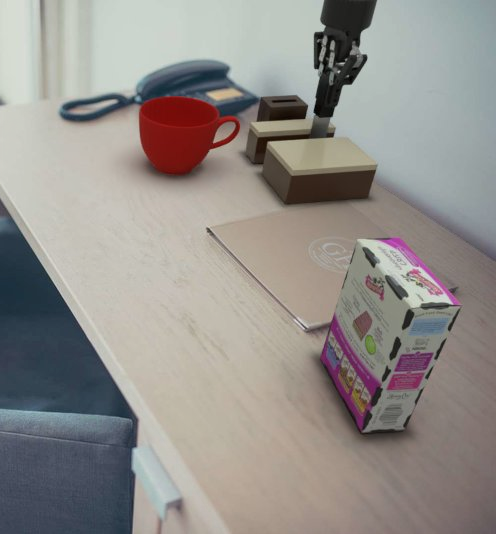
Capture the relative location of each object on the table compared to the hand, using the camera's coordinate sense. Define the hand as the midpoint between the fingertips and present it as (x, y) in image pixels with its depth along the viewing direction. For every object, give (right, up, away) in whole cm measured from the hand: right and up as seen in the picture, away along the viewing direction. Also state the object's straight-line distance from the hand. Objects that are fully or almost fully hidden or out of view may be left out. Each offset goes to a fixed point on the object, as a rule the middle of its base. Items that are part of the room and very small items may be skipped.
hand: (325, 102), depth 106 cm
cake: (-2, -14, -1) cm, 14 cm away
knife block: (-5, -4, +13) cm, 14 cm away
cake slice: (-4, -8, +7) cm, 11 cm away
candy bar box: (-10, -41, -38) cm, 56 cm away
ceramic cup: (-23, -10, +4) cm, 25 cm away
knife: (0, -8, +6) cm, 10 cm away
